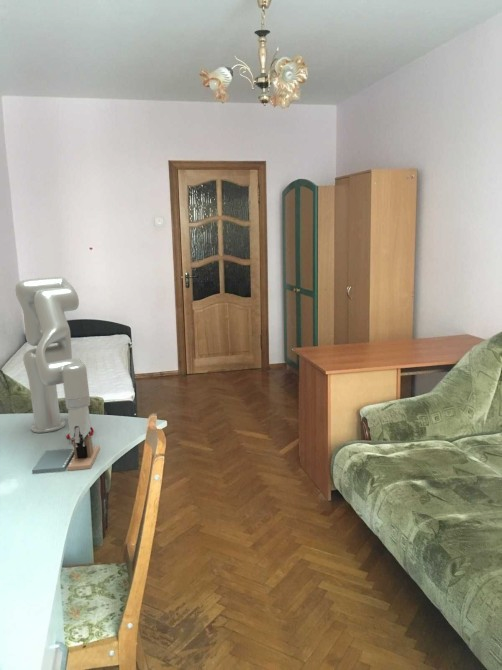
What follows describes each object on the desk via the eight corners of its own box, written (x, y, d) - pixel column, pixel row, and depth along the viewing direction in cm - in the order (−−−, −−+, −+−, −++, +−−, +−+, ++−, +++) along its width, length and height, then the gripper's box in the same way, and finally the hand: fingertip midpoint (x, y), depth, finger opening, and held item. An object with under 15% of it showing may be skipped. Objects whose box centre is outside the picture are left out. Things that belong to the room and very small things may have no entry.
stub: (79, 450, 189) (76, 430, 188) (100, 449, 190) (97, 429, 188) (68, 470, 173) (65, 448, 172) (90, 468, 174) (88, 446, 173)
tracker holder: (62, 433, 205) (87, 421, 209) (66, 444, 205) (92, 432, 210) (67, 435, 194) (94, 423, 199) (72, 447, 195) (99, 434, 199)
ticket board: (46, 453, 188) (46, 450, 188) (76, 451, 189) (76, 447, 189) (32, 473, 173) (31, 469, 172) (65, 470, 173) (64, 466, 173)
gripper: (72, 394, 186) (78, 446, 189) (59, 410, 169) (66, 466, 173) (94, 393, 186) (100, 444, 190) (84, 408, 170) (90, 464, 173)
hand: (84, 454), depth 181 cm, fingers closed on stub, 4 cm apart
